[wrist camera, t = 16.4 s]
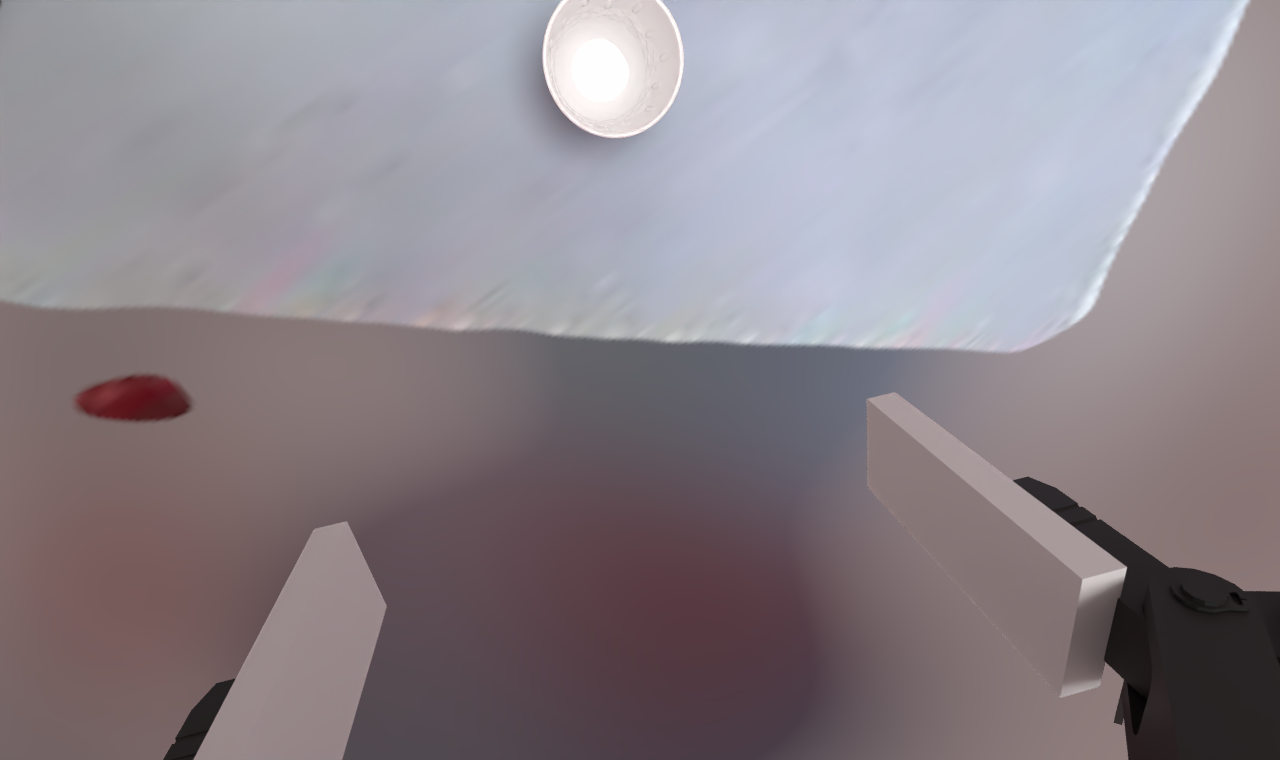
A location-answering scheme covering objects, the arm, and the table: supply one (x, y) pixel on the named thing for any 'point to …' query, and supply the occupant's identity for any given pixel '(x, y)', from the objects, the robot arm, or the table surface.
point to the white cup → (613, 64)
